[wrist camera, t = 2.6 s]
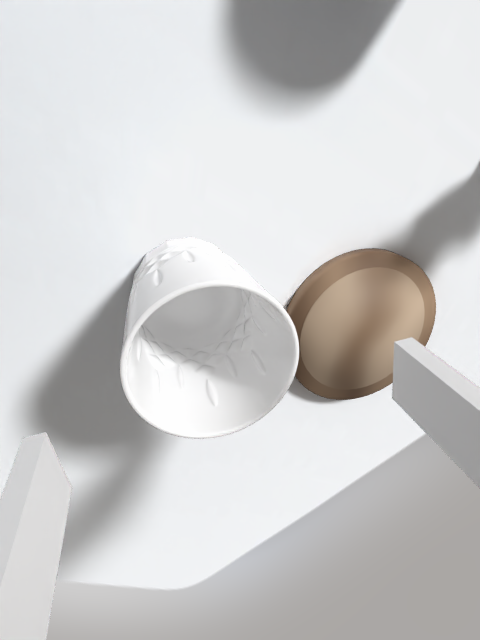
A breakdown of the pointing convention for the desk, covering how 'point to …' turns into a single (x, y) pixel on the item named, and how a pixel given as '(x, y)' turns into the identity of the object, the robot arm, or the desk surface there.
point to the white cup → (203, 343)
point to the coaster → (358, 321)
